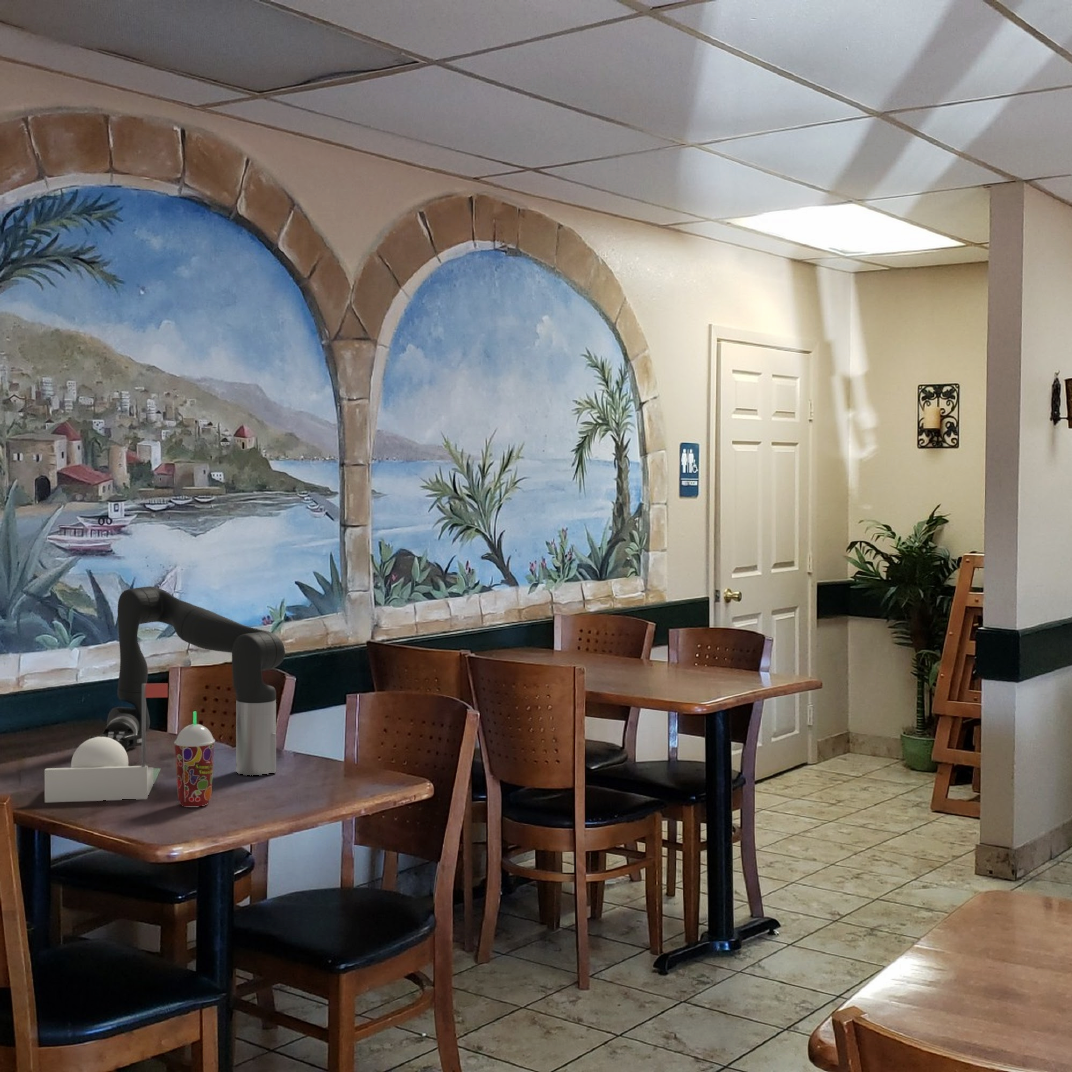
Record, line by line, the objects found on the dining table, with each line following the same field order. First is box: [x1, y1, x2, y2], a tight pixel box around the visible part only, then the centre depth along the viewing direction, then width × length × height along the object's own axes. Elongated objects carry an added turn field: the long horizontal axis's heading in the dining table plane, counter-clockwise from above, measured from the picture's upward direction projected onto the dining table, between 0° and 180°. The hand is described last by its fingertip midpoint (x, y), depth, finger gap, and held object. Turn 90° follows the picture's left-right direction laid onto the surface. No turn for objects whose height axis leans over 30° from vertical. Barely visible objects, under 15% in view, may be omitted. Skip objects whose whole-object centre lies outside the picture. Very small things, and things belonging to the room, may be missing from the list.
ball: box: [70, 736, 129, 768], centre depth 284 cm, size 12×12×12 cm
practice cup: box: [44, 682, 169, 803], centre depth 292 cm, size 25×30×25 cm
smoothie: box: [173, 711, 216, 807], centre depth 274 cm, size 8×8×20 cm
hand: (111, 747), depth 301 cm, fingers closed
